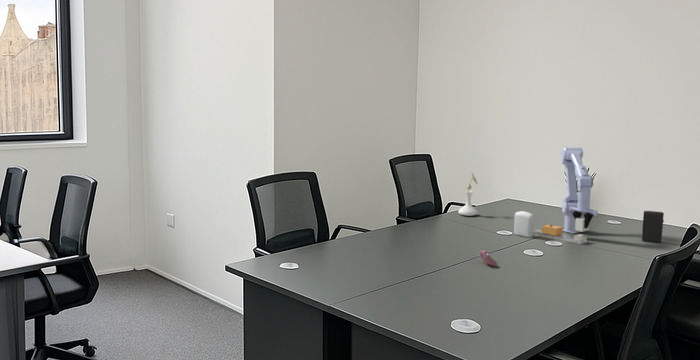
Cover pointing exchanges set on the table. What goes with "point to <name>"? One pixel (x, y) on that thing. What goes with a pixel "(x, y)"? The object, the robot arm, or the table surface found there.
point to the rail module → (580, 224)
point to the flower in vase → (468, 208)
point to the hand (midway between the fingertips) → (582, 227)
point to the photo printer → (523, 224)
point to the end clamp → (552, 229)
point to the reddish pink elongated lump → (487, 258)
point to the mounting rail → (564, 237)
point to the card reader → (652, 226)
